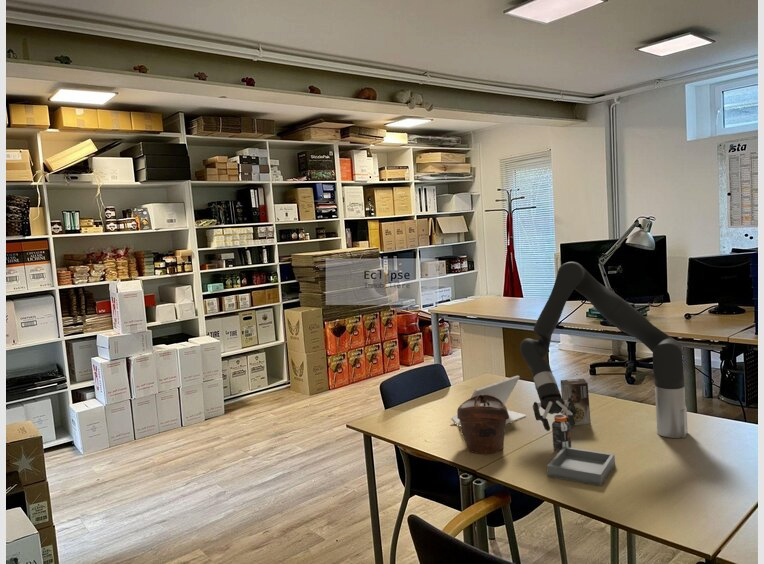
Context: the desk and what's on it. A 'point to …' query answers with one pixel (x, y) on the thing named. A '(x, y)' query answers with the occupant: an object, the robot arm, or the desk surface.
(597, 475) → the tray
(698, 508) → the desk surface
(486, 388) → the tablet stand
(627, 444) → the desk surface
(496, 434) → the brown tapered container
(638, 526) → the desk surface
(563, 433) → the pill bottle
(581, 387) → the coffee box
